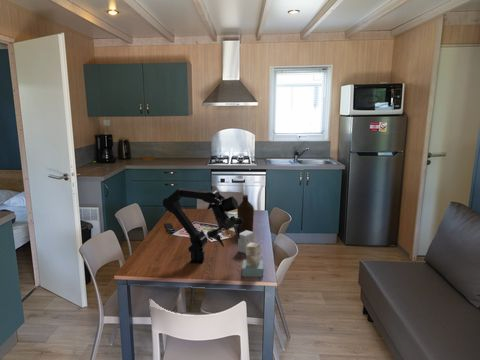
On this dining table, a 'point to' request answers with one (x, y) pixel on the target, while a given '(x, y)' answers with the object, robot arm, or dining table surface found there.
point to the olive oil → (246, 214)
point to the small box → (245, 240)
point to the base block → (252, 270)
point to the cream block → (252, 254)
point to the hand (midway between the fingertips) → (231, 242)
